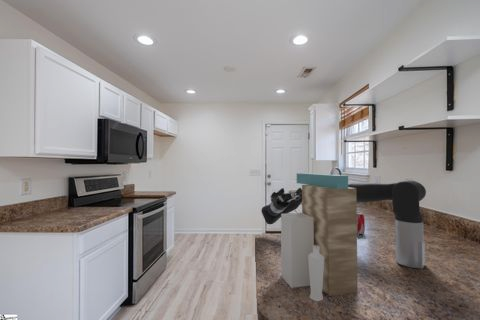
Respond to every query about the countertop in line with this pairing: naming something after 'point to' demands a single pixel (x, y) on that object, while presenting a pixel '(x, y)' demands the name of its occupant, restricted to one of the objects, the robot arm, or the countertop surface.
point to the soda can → (360, 223)
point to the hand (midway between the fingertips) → (292, 189)
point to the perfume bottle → (316, 273)
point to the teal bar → (323, 180)
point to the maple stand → (334, 235)
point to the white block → (296, 248)
